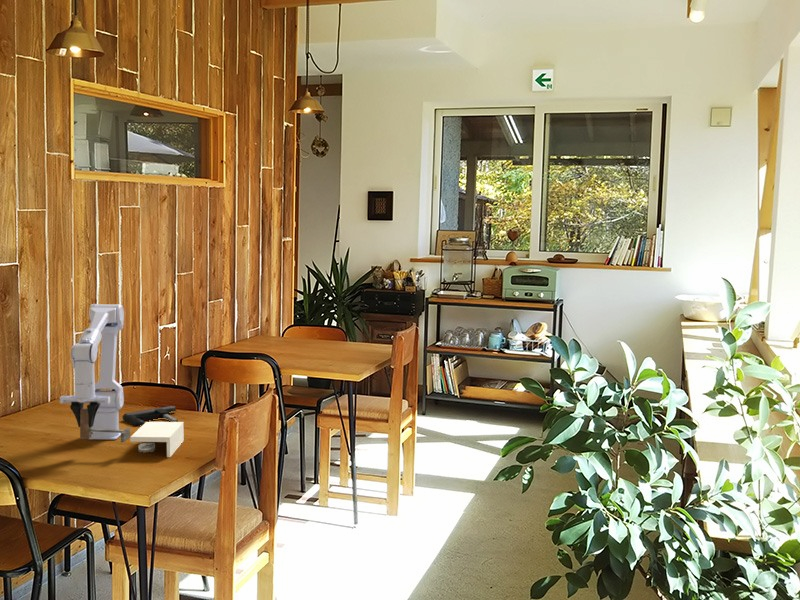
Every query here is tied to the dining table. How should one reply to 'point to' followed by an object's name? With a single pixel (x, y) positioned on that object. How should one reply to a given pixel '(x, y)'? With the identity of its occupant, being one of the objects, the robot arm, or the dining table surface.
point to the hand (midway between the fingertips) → (85, 426)
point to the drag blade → (86, 430)
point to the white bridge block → (161, 434)
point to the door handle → (149, 415)
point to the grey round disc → (146, 447)
